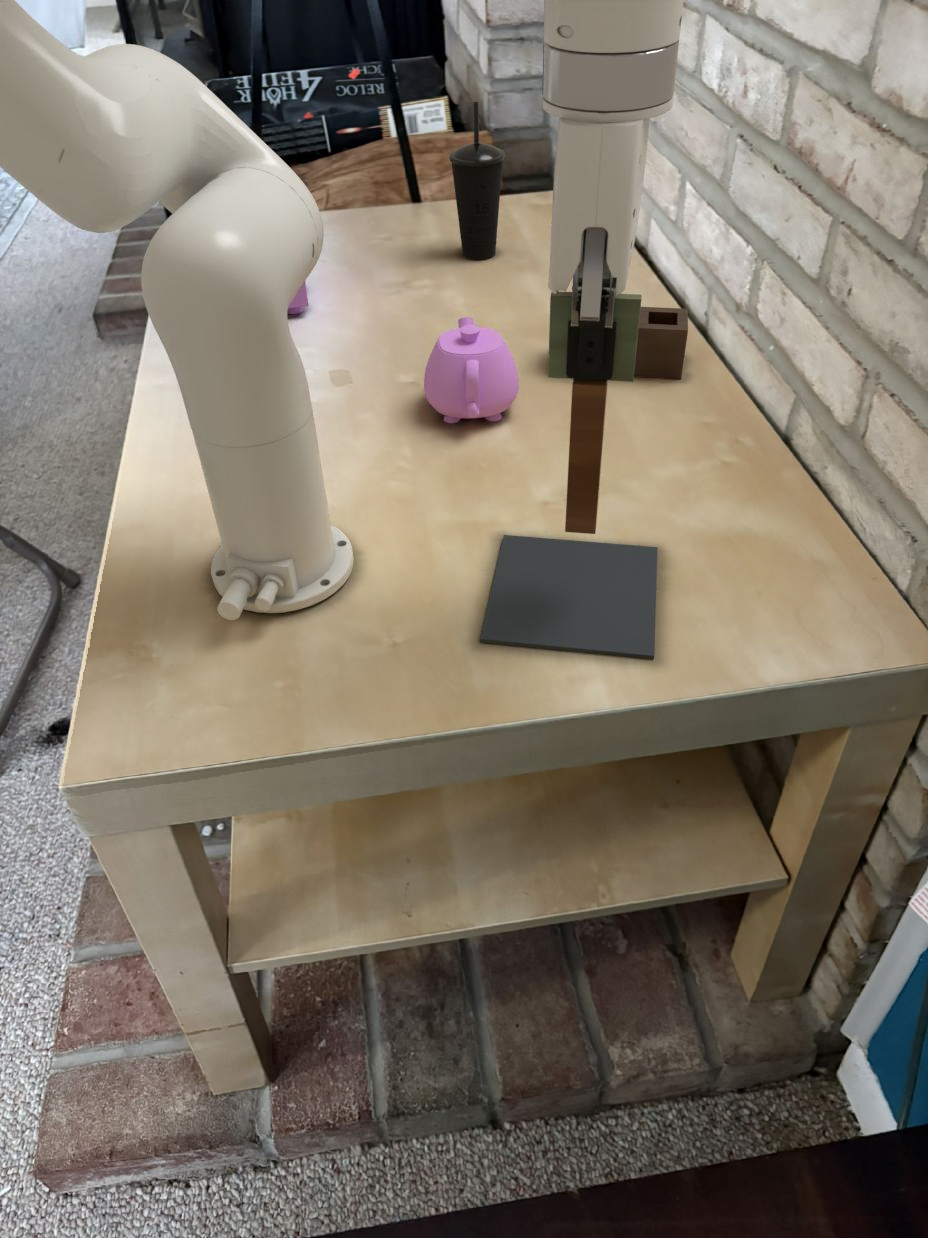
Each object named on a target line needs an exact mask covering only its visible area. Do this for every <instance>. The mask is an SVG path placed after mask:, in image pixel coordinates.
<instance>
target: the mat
mask: <svg viewBox="0 0 928 1238" xmlns="http://www.w3.org/2000/svg"><path fill="white" fill-rule="evenodd" d="M657 575H658V546H649V545H648V546H647V545H646V546H645V545H634V544H622V543H611V542H609V543H608V542H599V541H598V542H597V541H585V540H584V541H583V540H574V539H573V540H571V539H561V538H560V539H559V538H546V537H534V536H523V535H510V534H503V536H502V541H501V544H500V549H499V553H498V559H497V562H496V567H495V572H494V576H493V581H492V585H491V589H490V593H489V598H488V602H487V607H486V612H485V616H484V621H483V624H482V629H481V632H480V638H479V642H480V643H484V644H485V643H486V644H496V645H505V646H514V647H515V646H516V647H525V648H536V649H547V650H557V651H566V652H578V653H579V652H580V653H586V654H587V653H588V654H597V655H607V656H616V657H617V656H618V657H628V658H638V659H647V660H648V659H649V660H654V659H655V650H656V649H655V647H656V645H655V644H656V615H657V614H656V613H657V612H656V611H657Z"/></svg>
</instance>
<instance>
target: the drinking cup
mask: <svg viewBox="0 0 928 1238" xmlns="http://www.w3.org/2000/svg"><path fill="white" fill-rule="evenodd" d="M472 103H473V104H472V105H473V142H470V143H467V144H463V145H461V146H459V147H458V148H456V149H454V150H451V152H449V154H448V160H449V161H450V162H451V169H452V176H453V177H452V179H453V185H454V194H455V202H456V211H457V218H458V227H459V235H460V243H461V244H460V245H461V251H462V256H463V257H464V258H466V259H469V260H474V261H483V260H488V259H491V258H493V257H494V256H496V250H497V238H498V224H499V210H500V200H501V199H500V197H501V187H502V185H501V184H502V172H503V161H504V160H505V158H506V154H505V151H504V150H503V149H501V148H499V147H497V146H494V145H492V144H490V143H485V142H480V117H479V113H480V111H479V101H473V102H472Z"/></svg>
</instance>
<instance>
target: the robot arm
mask: <svg viewBox="0 0 928 1238" xmlns="http://www.w3.org/2000/svg"><path fill="white" fill-rule="evenodd" d="M543 4H544V5H543V46H542V47H543V48H542V49H543V50H542V90H541V91H542V93H541V95H542V101H541V107H542V109H543V111H545V113H546V114H549V115H551V116H553V117H555V118H558V124H557V125H558V126H557V133H556V144H555V152H554V153H555V154H554V155H555V156H554V168H553V169H554V170H553V186H552V188H553V189H552V206H551V207H552V209H551V230H550V231H551V232H550V250H549V268H548V269H549V270H548V284H547V287H548V289H549V290H550V292H553V293H554V294H558V291H559V292H567V290H568V289H569V286H570V284H571V282H572V286H571V292H572V313H571V321H569V323H568V342H567V364H566V375H567V376H568V377H569V378H568V379H571V378H573V379H592V380H608V381H610V380H609V379H611V377H612V374H613V362H614V350H615V338H616V325H617V323H615V322H613V315H614V302H615V296H617V295H619V294H623V292H624V291H626V287H627V282H628V277H629V272H630V268H631V263H632V259H633V252H634V248H635V244H636V243H635V242H636V237H637V231H638V224H639V217H640V210H641V205H642V204H641V203H642V197H643V189H644V179H645V171H646V163H647V161H646V160H647V154H648V153H647V152H648V143H649V133H650V132H649V131H650V121H651V119H653V118H656V117H659V116H662V115H664V114H666V113H667V112H670V110H671V109H672V108H673V105H674V93H675V84H676V83H675V82H676V74H677V66H678V65H677V64H678V56H679V47H680V37H681V28H682V20H683V19H682V18H683V10H684V0H544V3H543ZM0 168H1V169H2V170H3V171H4V172H5V173H6V174H8V175H9V176H10V177H12V179H13V180H15V181H16V182H17V183H18V184H19V185H20V186H22V187H23V188H24V189H26V190H27V192H29V193H30V194H31V195H33V196H34V197H35V198H36V199H38V200H39V201H40V202H41V203H42V204H43V205H44V206H46V207H47V208H48V209H49V210H51V211H52V212H53V213H55V214H56V215H58V216H59V217H60V218H62V220H64V221H66V222H67V223H69V224H70V225H73V226H74V227H76V228H78V229H79V230H83V231H86V232H92V233H95V234H105V233H111V232H115V231H119V230H120V229H122V228H124V227H126V226H128V225H129V224H131V223H133V222H134V221H135V220H138V219H139V218H140V217H141V216H143V215H144V214H145V213H147V212H148V211H149V210H151V209H152V208H153V207H154V206H155V205H156V204H158V203H159V204H160V205H162V206H163V207H164V208H165V209H166V210H168V211H169V212H170V213H171V215H169V217H167V218H166V220H165V221H164V222H163V223H162V224H161V225H160V227H159V228H158V229H157V230H156V232H155V233H154V235H153V236H152V238H151V240H150V242H149V244H148V246H147V249H146V251H145V253H144V256H143V261H142V266H141V274H140V285H141V287H140V288H141V294H142V298H143V302H144V306H145V308H146V311H147V314H148V317H149V319H150V321H151V323H152V325H153V328H154V330H155V332H156V334H157V336H158V338H159V341H160V342H161V344H162V346H163V348H164V350H165V352H166V355H167V358H168V359H169V361H170V364H171V367H172V370H173V372H174V375H175V377H176V381H177V384H178V387H179V391H180V394H181V397H182V401H183V404H184V408H185V411H186V416H187V419H188V422H189V426H190V429H191V432H192V436H193V440H194V444H195V447H196V451H197V455H198V459H199V462H200V466H201V470H202V474H203V477H204V481H205V485H206V489H207V492H208V496H209V500H210V504H211V508H212V512H213V515H214V519H215V522H216V523H215V524H216V528H217V530H218V531H217V532H218V534H219V537H220V541H221V546H219V547H218V548H217V551H216V552H215V554H214V556H213V558H212V562H211V565H210V573H211V574H210V575H211V579H212V582H213V585H214V587H215V590H216V591H217V593H218V594H219V595H220V596H221V599H220V601H219V603H218V605H217V607H216V610H217V613H218V614H219V616H221V617H222V618H224V619H225V620H228V621H235V620H238V619H239V618H240V617H241V614H242V613H243V611H250V612H254V613H261V614H263V613H265V614H281V613H288V612H289V613H290V612H294V611H299V610H302V609H306V608H308V607H312V606H314V605H316V604H318V603H320V602H322V601H325V600H326V599H328V598H329V597H331V596H332V595H333V594H335V593H336V592H337V591H339V589H341V587H343V586H344V585H345V583H346V582H347V581H348V579H349V578H350V576H351V574H352V571H353V568H354V549H353V547H352V543H351V541H350V539H349V537H348V536H347V535H346V534H345V532H343V531H342V530H341V529H339V528H338V527H337V526H335V525H333V524H332V523H331V517H330V510H329V505H328V498H327V491H326V486H325V485H326V484H325V479H324V471H323V467H322V466H323V465H322V459H321V454H320V447H319V441H318V440H319V439H318V433H317V427H316V421H315V416H314V409H313V404H312V399H311V393H310V388H309V387H310V386H309V382H308V379H307V373H306V370H305V369H306V368H305V367H304V362H303V361H302V358H301V357H302V356H301V355H300V353H299V350H298V348H297V346H296V344H295V342H294V339H293V337H292V334H291V331H290V327H289V321H288V313H287V311H288V307H289V304H290V303H291V301H292V300H293V299H294V297H295V295H296V294H297V292H298V290H299V288H300V287H301V286H302V284H303V283H304V281H305V282H306V280H307V279H308V278H309V276H310V274H311V273H312V271H313V270H314V268H315V267H316V265H317V263H318V261H319V259H320V257H321V254H322V250H323V246H324V236H325V234H324V232H325V231H324V223H323V219H322V214H321V212H320V209H319V206H318V204H317V201H316V200H315V198H314V196H313V195H312V193H311V191H310V190H309V188H308V187H307V185H306V184H305V183H304V182H303V180H302V179H301V178H300V177H299V176H298V174H296V172H295V171H294V169H292V168H291V167H290V166H289V165H288V164H287V163H286V162H285V161H284V160H283V159H282V158H281V157H280V156H279V155H278V154H277V153H276V152H275V151H274V150H273V149H272V148H271V147H270V146H269V145H267V144H266V143H265V141H264V140H262V138H261V137H260V136H258V135H257V133H255V132H254V131H253V130H252V129H251V128H250V127H249V126H248V125H247V124H246V123H245V122H244V121H243V120H242V119H241V118H240V117H238V115H237V114H236V113H234V112H233V111H232V109H230V107H228V106H227V105H226V104H225V103H224V102H223V101H222V99H220V98H219V97H218V96H217V95H216V94H215V93H214V92H213V91H211V89H210V88H208V87H207V86H206V85H205V84H204V83H203V82H202V81H201V80H200V79H199V78H198V77H197V76H195V75H194V74H193V73H192V72H191V71H190V70H188V69H187V68H186V67H184V66H183V65H182V64H181V63H179V62H177V61H176V60H175V59H172V58H171V57H169V56H167V55H166V54H163V53H161V52H159V51H157V50H155V49H152V48H150V47H147V46H144V45H140V44H138V45H137V44H131V43H121V44H120V43H118V44H113V45H107V46H105V47H102V48H100V49H97V50H95V51H93V52H90V53H88V54H86V55H81V54H78V53H77V52H75V51H74V50H72V49H71V48H70V47H68V46H67V45H65V44H64V43H63V42H62V41H60V40H59V39H58V38H56V37H55V36H54V35H53V34H52V33H50V31H48V30H47V29H46V28H45V27H44V26H42V25H41V24H40V23H39V22H38V21H37V20H35V19H34V18H33V17H32V16H31V15H30V14H29V13H28V12H27V11H26V10H25V9H24V8H23V7H22V6H21V5H20V4H19V3H18V2H17V1H16V0H0ZM615 294H616V295H615ZM581 295H582V296H581ZM602 295H607V299H606V297H602ZM605 312H606V313H605Z"/></svg>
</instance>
